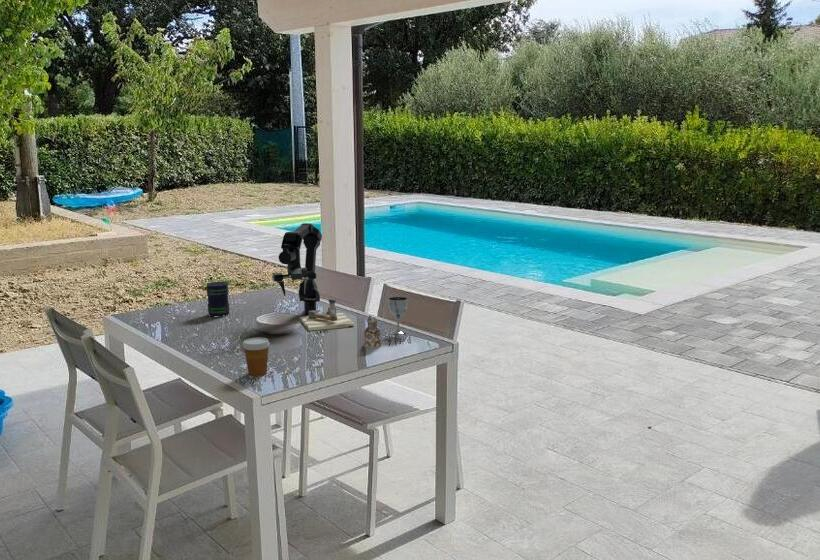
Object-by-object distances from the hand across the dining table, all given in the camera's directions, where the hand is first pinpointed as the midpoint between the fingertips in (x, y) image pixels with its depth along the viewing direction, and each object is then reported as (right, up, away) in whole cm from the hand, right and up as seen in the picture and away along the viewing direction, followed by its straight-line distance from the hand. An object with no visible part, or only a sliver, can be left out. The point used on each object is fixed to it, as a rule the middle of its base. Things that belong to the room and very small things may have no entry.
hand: (295, 295), depth 336 cm
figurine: (+36, -20, -34) cm, 53 cm away
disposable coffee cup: (-3, -27, -67) cm, 72 cm away
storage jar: (-39, -10, +20) cm, 45 cm away
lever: (+12, -11, +2) cm, 16 cm away
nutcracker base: (+14, -13, +2) cm, 19 cm away
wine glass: (+46, -16, -15) cm, 51 cm away
